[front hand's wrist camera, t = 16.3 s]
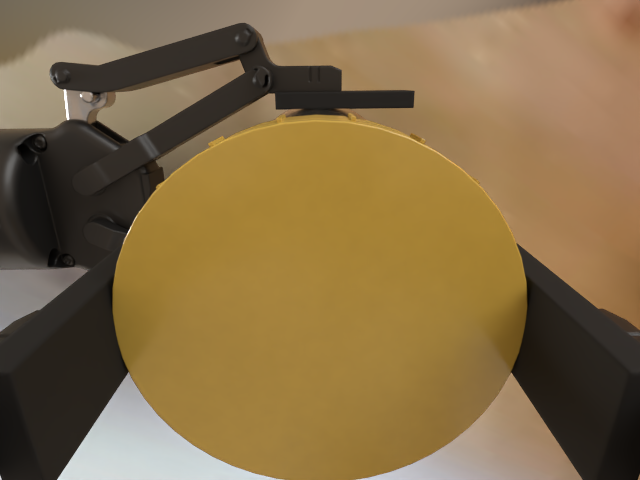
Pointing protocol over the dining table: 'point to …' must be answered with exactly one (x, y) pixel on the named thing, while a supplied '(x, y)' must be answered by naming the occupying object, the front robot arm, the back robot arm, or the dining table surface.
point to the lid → (319, 299)
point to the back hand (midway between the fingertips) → (402, 196)
